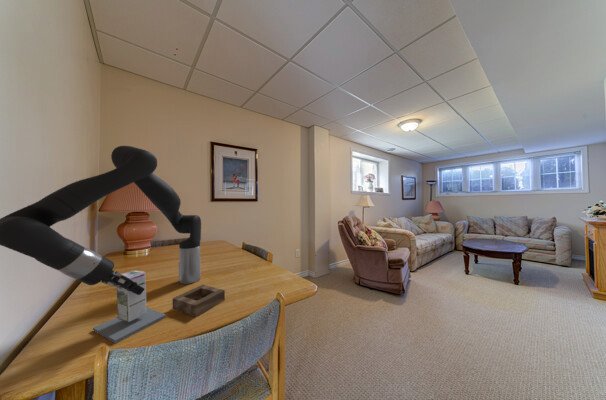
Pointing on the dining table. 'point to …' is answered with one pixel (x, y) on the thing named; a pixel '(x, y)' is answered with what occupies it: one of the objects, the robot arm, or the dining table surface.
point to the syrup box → (132, 298)
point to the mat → (128, 326)
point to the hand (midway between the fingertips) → (136, 290)
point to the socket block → (195, 308)
